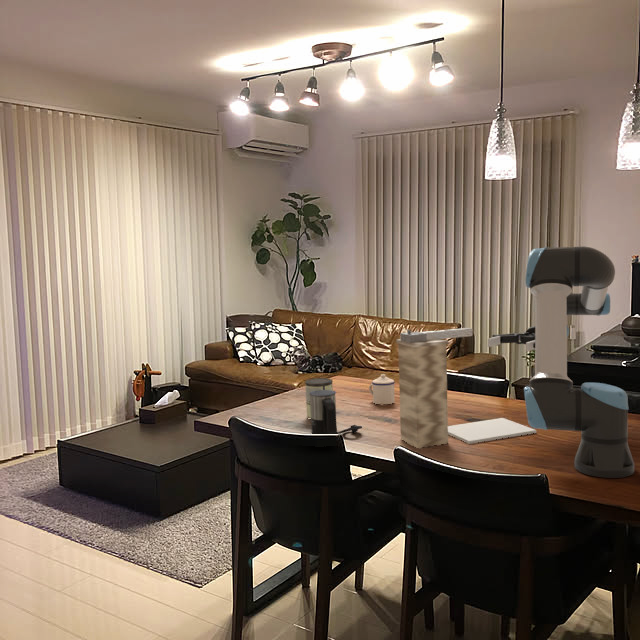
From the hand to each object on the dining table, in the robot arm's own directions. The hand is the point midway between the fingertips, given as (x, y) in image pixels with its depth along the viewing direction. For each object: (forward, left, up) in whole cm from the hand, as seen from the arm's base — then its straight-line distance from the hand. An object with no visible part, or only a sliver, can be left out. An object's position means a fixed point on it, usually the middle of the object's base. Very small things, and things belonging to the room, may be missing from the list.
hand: (507, 344), depth 215 cm
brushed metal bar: (-5, +22, +3) cm, 22 cm away
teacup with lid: (+45, +47, -30) cm, 72 cm away
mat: (+5, +6, -30) cm, 31 cm away
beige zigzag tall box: (-8, +27, -30) cm, 41 cm away
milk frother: (-2, +56, -30) cm, 64 cm away
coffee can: (+20, +67, -30) cm, 76 cm away
